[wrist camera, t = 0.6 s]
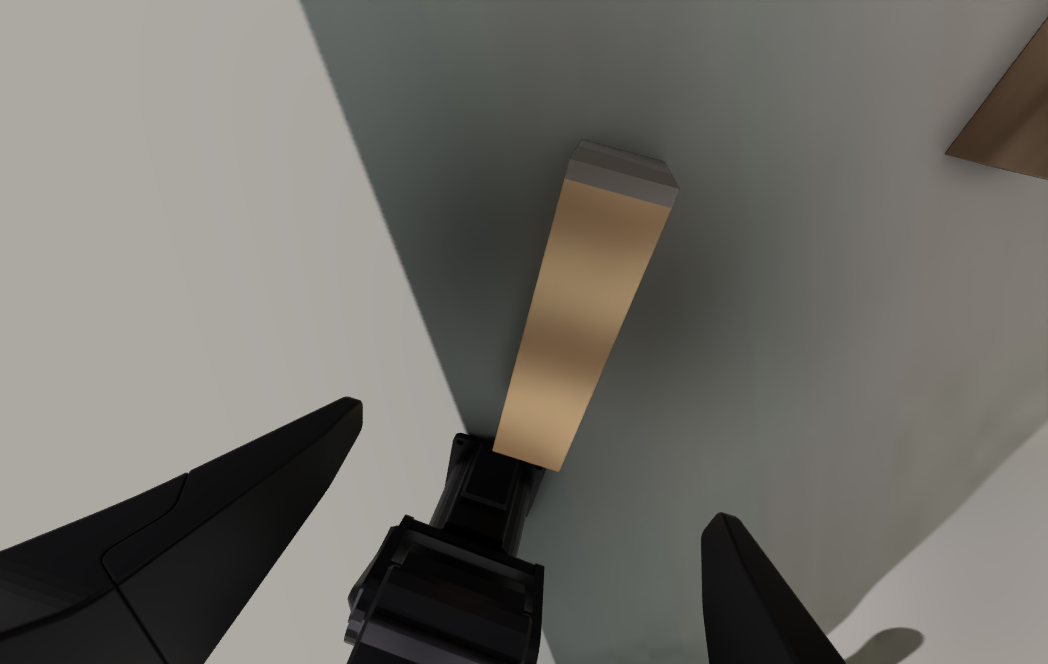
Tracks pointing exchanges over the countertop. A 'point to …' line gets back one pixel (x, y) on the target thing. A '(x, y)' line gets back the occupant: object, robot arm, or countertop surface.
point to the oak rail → (582, 295)
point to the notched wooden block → (1013, 117)
